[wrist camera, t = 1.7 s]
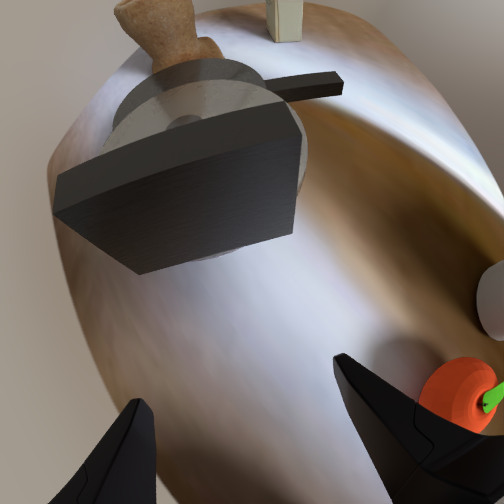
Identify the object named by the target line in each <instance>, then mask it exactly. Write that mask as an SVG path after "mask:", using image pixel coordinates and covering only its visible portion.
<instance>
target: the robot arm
mask: <svg viewBox="0 0 504 504" xmlns="http://www.w3.org/2000/svg"><path fill="white" fill-rule="evenodd" d="M333 368H334V375H335V378H336V381H337V384H338V387H339V389H340V392H341V395H342V398H343V401H344V404H345V407H346V409H347V412H348V414H349V416H350V418H351V420H352V422H353V424H354V426H355V428H356V430H357V432H358V434H359V436H360V438H361V440H362V442H363V444H364V446H365V448H366V450H367V452H368V454H369V456H370V458H371V460H372V462H373V464H374V466H375V468H376V470H377V472H378V474H379V476H380V478H381V480H382V482H383V484H384V486H385V488H386V490H387V492H388V494H389V496H390V498H391V500H392V502H393V504H504V435H498V436H487V435H481V434H478V433H475V432H472V431H470V430H468V429H466V428H463V427H461V426H459V425H457V424H455V423H452V422H450V421H448V420H446V419H444V418H442V417H440V416H438V415H436V414H435V413H433V412H431V411H430V410H428V409H426V408H425V407H423V406H422V405H420V404H419V403H415V401H414V400H413V399H411V398H410V397H408V396H407V395H405V394H404V393H402V392H401V391H399V390H398V389H396V388H395V387H393V386H392V385H390V384H389V383H387V382H386V381H384V380H383V379H381V378H380V377H379V376H377V375H376V374H374V373H373V372H371V371H370V370H368V369H367V368H366V367H364V366H363V365H361V364H360V363H358V362H357V361H355V360H354V359H353V358H351V357H350V356H348V355H347V354H345V353H341V354H338V355H335V356H334V357H333ZM48 504H156V441H155V429H154V416H153V412H152V410H151V409H150V407H149V406H148V405H147V404H146V402H145V401H144V400H143V399H141V398H136V399H131V400H130V401H129V403H128V404H127V405H126V407H125V408H124V409H123V411H122V412H121V413H120V415H119V416H118V418H117V419H116V420H115V422H114V423H113V424H112V425H111V427H110V428H109V429H108V431H107V432H106V433H105V435H104V436H103V437H102V439H101V440H100V441H99V443H98V444H97V445H96V447H95V448H94V450H93V451H92V452H91V454H90V455H89V456H88V458H87V459H86V460H85V462H84V463H83V464H82V466H81V467H80V468H79V470H78V471H77V472H76V473H75V475H74V476H73V477H72V478H71V479H70V481H69V482H68V483H67V484H66V485H65V486H64V487H63V488H62V490H61V491H60V492H59V493H58V494H57V495H56V496H55V497H54V498H53V499H52V500H51V501H50V502H49V503H48Z"/></svg>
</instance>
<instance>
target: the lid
mask: <svg viewBox="0 0 504 504" xmlns="http://www.w3.org/2000/svg"><path fill="white" fill-rule="evenodd" d="M307 155H308V145H307V137H306V133H305V129H304V127H303V125H302V122H301V120H300V119H299V117H298V115H297V114H296V112H295V111H294V110H293V109H292V108H291V107H290V105H289V104H288V103H286V102H285V101H284V100H283V99H282V98H280V97H279V96H277V95H276V94H274V93H273V92H271V91H269V90H267V89H264V88H262V87H260V86H257V85H254V84H251V83H246V82H241V81H234V80H205V81H199V82H193V83H189V84H185V85H181V86H178V87H175V88H172V89H170V90H167V91H165V92H163V93H161V94H158V95H157V96H155V97H153V98H151V99H149V100H148V101H146V102H145V103H143V104H142V105H140V106H139V107H137V108H136V109H135V110H134V111H132V112H131V113H130V114H129V115H128V116H127V117H126V118H125V119H124V120H123V121H122V122H121V123H120V124H119V125H118V126H117V127H116V128H115V130H114V131H113V132H112V134H111V135H110V136H109V138H108V139H107V141H106V143H105V144H104V146H103V148H102V150H101V152H100V154H99V156H98V157H95V158H93V159H91V160H89V161H86V162H84V163H82V164H80V165H78V166H76V167H74V168H71V169H69V170H67V171H65V172H63V173H61V174H59V175H58V176H57V183H56V190H55V197H54V205H53V215H54V216H56V217H57V218H58V219H60V220H61V221H62V222H64V223H65V224H66V225H68V226H69V227H70V228H72V229H73V230H74V231H76V232H77V233H79V234H80V235H81V236H83V237H84V238H85V239H87V240H88V241H90V242H91V243H92V244H94V245H95V246H97V247H98V248H100V249H101V250H102V251H104V252H105V253H107V254H108V255H110V256H111V257H113V258H114V259H116V260H117V261H119V262H120V263H122V264H123V265H125V266H126V267H128V268H129V269H131V270H132V271H134V272H135V273H137V274H138V275H142V274H145V273H149V272H152V271H156V270H160V269H163V268H167V267H170V266H174V265H178V264H181V263H185V262H189V261H201V260H205V259H210V258H215V257H219V256H222V255H225V254H227V253H230V252H233V251H235V250H237V249H240V248H242V247H244V246H247V245H251V244H255V243H259V242H262V241H266V240H270V239H274V238H277V237H281V236H285V235H288V234H292V232H293V223H294V215H295V206H296V197H297V195H298V193H299V191H300V189H301V186H302V183H303V180H304V177H305V170H306V163H307Z"/></svg>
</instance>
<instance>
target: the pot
mask: <svg viewBox="0 0 504 504" xmlns="http://www.w3.org/2000/svg"><path fill="white" fill-rule="evenodd" d="M205 80H234V81H241V82H246V83H251V84H254V85H257V86H260V87H262V88H264V89H267V90H269V91H271V92H273V93H274V94H276V95H277V96H279V97H280V98H282V99H283V100H284V101H285V102H286V103H288V102H294V101H300V100H307V99H314V98H321V97H329V96H338V95H342V90H343V85H344V81H343V80H342V79H341V78H340V76H339V75H338V74H337V73H336V72H335V71H332V72H321V73H311V74H303V75H295V76H288V77H281V78H275V79H269V80H263V79H262V77H261V76H260V75H259V74H258V73H257V72H256V71H255V70H254V69H252V68H251V67H249V66H247V65H245V64H243V63H240V62H238V61H234V60H229V59H222V58H203V59H195V60H190V61H185V62H182V63H178V64H175V65H172V66H170V67H167V68H165V69H163V70H161V71H159V72H157V73H155V74H153V75H151V76H150V77H148V78H147V79H145V80H144V81H142V82H141V83H140V84H139V85H137V86H136V87H135V88H134V89H133V90H132V91H131V92H130V93H129V94H128V95H127V96H126V98H125V99H124V100H123V101H122V103H121V104H120V106H119V108H118V110H117V112H116V114H115V117H114V121H113V131H114V130H115V128H116V127H117V126H118V125H119V124H120V123H121V122H122V121H123V120H124V119H125V118H126V117H127V116H128V115H129V114H130V113H131V112H132V111H134V110H135V109H136V108H137V107H139V106H140V105H142V104H143V103H145V102H146V101H148V100H149V99H151V98H153V97H155V96H157V95H158V94H161V93H163V92H165V91H167V90H170V89H172V88H175V87H178V86H181V85H185V84H189V83H193V82H199V81H205Z"/></svg>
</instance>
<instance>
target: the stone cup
mask: <svg viewBox="0 0 504 504" xmlns="http://www.w3.org/2000/svg"><path fill="white" fill-rule="evenodd" d="M114 15H115V16H116V18H117V20H118V21H119V23H120V25H121V27H122V29H123V30H124V31H125V32H126V33H127V34H128V35H129V36H130V37H131V38H132V39H134V40H135V42H136V43H138V45H140V46H141V47H142V48H143V49H144V50H145V51H146V52H147V53H148V55H149V56H150V57H151V58H152V59H153V64H152V70H153V74H155V73H157V72H159V71H161V70H163V69H165V68H167V67H170V66H172V65H175V64H178V63H182V62H185V61H190V60H195V59H203V58H222V59H225V58H224V57H223V54H222V52H221V50H220V49H219V47H218V46H217V44H216V43H215V42H214V41H213V40H212V39H211V38H209V37H199V38H197V33H196V28H195V15H194V7H193V4H192V1H191V0H122V1H121V2H120V3H118V4H117V5H116V7H115V8H114Z"/></svg>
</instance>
